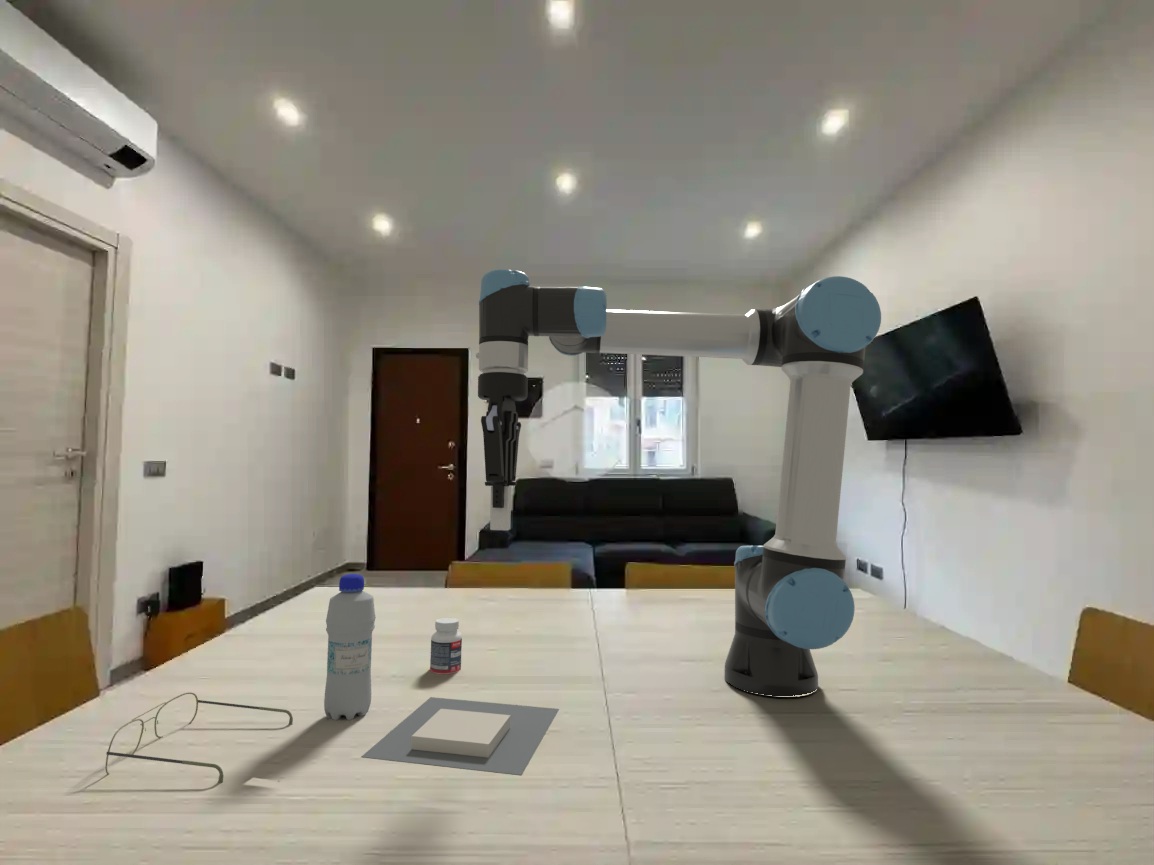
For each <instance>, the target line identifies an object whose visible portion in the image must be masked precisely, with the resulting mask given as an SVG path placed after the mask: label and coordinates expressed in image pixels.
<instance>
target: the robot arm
mask: <svg viewBox="0 0 1154 865" xmlns="http://www.w3.org/2000/svg"><path fill="white" fill-rule="evenodd" d="M479 296H480V297H479V300H478V306H479V308H478V309H479V310H478V313H479V314H478V320H479V322H478V328H479V331H478V349H479V350H478V352H476V354H475V358H476V359H478V371H479V372H481V373H480V374H479V376H477V397H478V399H480V400H482V401H483V400H484V401H488V405H487V411H486V415H482V416H481V417H480V423H481V429H482V434H483V452H484V453H483V455H484V468H485V469H484V470H485V480H486V481H484V485H485V487H490V516H489V520H490V521H489V529H490V531H509V530H511V520H512V519H511V517H512V516H511V515H512V514H511V512H512V510H511V508H512V507H511V506H512V487H516V486H517V485H518V482H517V481H516V479H517V476H516V475H517V465H518V464H517V463H518V451H519V442H520V441H519V439H520V433H521V428H522V424H521V422H520V421H519V413H518V412H517V409H516V402H522V401H525V400H527V398H528V394H529V393H528V392H529V391H528V390H529V389H528V384H529V383H528V382H529V378H528V377H527V375H526V373H527V372H529V337H530V336H531V337H548V339H549V341H550V344H552V346H553V347H554V349H556V351H557V352H558V353H560V354H562V355H564V356H568V357H573V356H578V355H581V354H582V353H587V354H588V353H591V354H621V355H622V354H623V355H645V356H669V357H691V358H717V359H739V360H742V361H743V362H744V363H745V364H746V365H747V366H763V367H767V366H768V367H773V368H775V367H777V368H781V371H782V372H783V373H784V374H785V375H786V376H787V377H788V379H789V381H790V384H789V392H788V400H787V401H788V402H787V413H786V422H785V423H786V424H785V433H784V442H783V443H784V444H783V451H782V452H783V453H782V461H781V462H782V464H781V473H780V484H779V492H778V493H779V494H778V503H777V504H778V505H777V515H776V523H775V524H776V525H775V532H774V533H775V534H774V535H773V537H771V539H769V540H768V541H766V542H765V543H764V544H763V545H741V546H739V547H738V548H737V549H736V551H735V559H734V562H733V565H734V613H735V614H734V635H733V639H732V641H731V645H730V648H729V650H728V653H727V656H726V659H725V662H724V680H725V682H726V681H727V682H728V683H730V684H731V685H733V686H735V687H737V688H740V689H742V690H745V691H748V692H753V693H758V694H764V695H772V696H793V695H794V696H795V695H802V694H807V693H811V692H813V691H815V690H816V689H817V688H818V689H819V674H818V670H817V667H816V665H815V661H814V658H813V655H812V652H811V650H820V649H824V648H827V647H829V646H832V645H833V644H834V643H837V641H839V640H841V639H842V638H844V636H845V635H846V633H847V632H848V631H849V629H850V628H851V626H852V623H853V620H854V617H855V609H856V608H855V600H854V597H853V594H852V590H850V588H849V585H848V584H847V582H845V571H846V561H847V559H846V558H847V557H846V555H845V554H844V553H843V551H842V550H841V549H840V548H839V547H838V545H837V535H838V534H837V533H838V523H839V515H840V514H839V510H840V504H841V503H840V502H841V493H842V492H841V491H842V480H843V470H844V460H845V449H846V448H845V447H846V438H847V437H846V436H847V427H848V416H849V409H850V408H849V406H850V405H849V404H850V394H851V385H852V384H853V382H855V380H857V379H858V378H859V377H860V376H862V375H863V374H864V366H865V355H866V347H867V346H868V345H871V343H872V342H873V341H874V339H875V337H876V336H877V334H878V332H879V330H880V327H881V324H882V311H881V306H880V304H879V302H878V300H877V298H876V296H875V295H874V293H873V292H871V291H870V289H868V287H867V286H866V285H865V284H863V282H860V281H858V280H856V279H854V278H851V277H848V276H840V275H835V276H834V275H833V276H828V277H825V278H821V279H819V280H817V281H815V282H812V283H810V284H808V285H807V286H805V287H804V288H803V289H802V290H801V292H800V293H799V294H798V295H797V296H796V297H795V298H793V299H791V300H790V301H789V302H787V303H786V304H784V305H781V306H778V307H774V308H769V309H758V308H757V309H755V308H754V309H753V308H752V309H750V310H749V311H748V312H747V313H746V314H734V313H733V314H732V313H731V314H730V313H709V312H708V313H704V312H685V311H684V312H682V311H681V312H679V311H678V312H677V311H676V312H675V311H654V310H650V311H649V310H633V309H630V310H626V309H608V308H607V306H608V304H607V293H606V291H605V290H604V289H603V288H602V287H591V286H585V285H581V286H535V285H531V283H530V279H529V276H528V275H527V274H526V273H525V272H522V271H520V270H513V269H512V270H511V269H508V268H507V269H506V268H505V269H504V268H503V269H502V268H501V269H493V270H490V271H488V272H486V273H484V275H483V276H482V278H481V282H480V295H479ZM728 683H727V684H728ZM730 684H729V685H730ZM731 685H730V686H731ZM733 686H732V687H733ZM735 687H734V688H735ZM737 688H736V689H737ZM742 690H741V691H742ZM745 691H744V692H745ZM748 692H747V693H748Z"/></svg>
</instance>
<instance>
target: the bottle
mask: <svg viewBox="0 0 1154 865" xmlns="http://www.w3.org/2000/svg"><path fill="white" fill-rule="evenodd" d="M364 589H365V579H364V576H363V575H361V574H356V573H348V574H344V575H342V576H341V578H340V579H339V583H338V591H340V592H339V593H337V594H335V595H333V596H331V597H330V599H329V601H328V608H327V614H326V619H325V623H326V624H325V625H326V629H325V630H326V631H325V632H326V633H327V637H328V638H327V642H328V643H327V658H326V659H327V660H326V661H327V663H326V682H325V689H324V700H323V708H324V713H325V716H326V718H327V719H329V720H333V721H338V720H340V719H341V718H342V716H345V719H346V720H347V721H348V720H353V719H354V717H355V716H356V715H357V716H360V717H363V716H366V714H367V712H368V711H369V709H370V706H371V704H372V703H371V702H372V672H371V671H372V650H373V649H372V647H373V646H372V645H373V632H374V629H375V626H376V625H375V622H376V610H375V599H374V596H373V595H372V594H370V593H368V592H366V591H364Z"/></svg>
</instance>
